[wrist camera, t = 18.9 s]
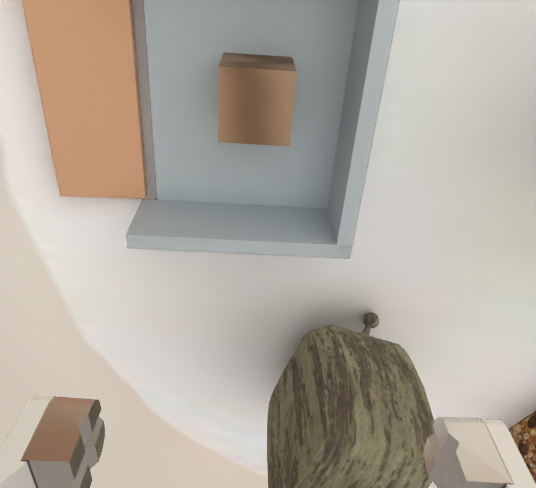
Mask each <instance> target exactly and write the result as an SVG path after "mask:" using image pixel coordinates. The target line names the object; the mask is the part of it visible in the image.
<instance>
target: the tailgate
mask: <svg viewBox="0 0 536 488" xmlns="http://www.w3.org/2000/svg"><path fill="white" fill-rule="evenodd" d="M22 2H23V7H24V13H25V18H26V23H27V28H28V33H29V38H30V44H31V49H32V54H33V59H34V64H35V69H36V74H37V80H38V85H39V90H40V95H41V100H42V105H43V111H44V116H45V121H46V126H47V131H48V136H49V142H50V147H51V152H52V157H53V162H54V167H55V173H56V178H57V183H58V188H59V193H60V196H73V197H109V198H144V199H146V196H147V184H146V171H145V159H144V147H143V134H142V122H141V110H140V97H139V85H138V73H137V61H136V48H135V36H134V24H133V11H132V0H22Z"/></svg>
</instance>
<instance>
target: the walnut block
mask: <svg viewBox="0 0 536 488" xmlns="http://www.w3.org/2000/svg"><path fill="white" fill-rule="evenodd" d="M296 75H297V71H296V67H295V64H294V61H293V58H292V57H285V56H270V55H255V54H240V53H225V52H224V53H223V56H222V59H221V61H220V64H219V71H218V142H222V143H239V144H256V145H273V146H290V138H291V128H292V117H293V107H294V96H295V86H296Z"/></svg>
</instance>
